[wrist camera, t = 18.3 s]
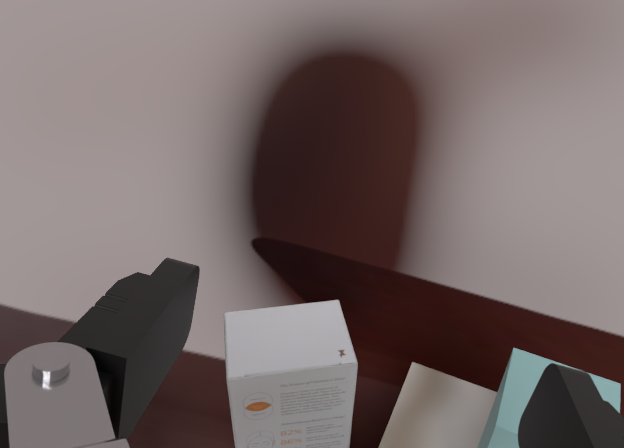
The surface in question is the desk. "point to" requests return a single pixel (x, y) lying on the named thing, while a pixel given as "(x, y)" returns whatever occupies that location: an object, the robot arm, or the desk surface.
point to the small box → (290, 376)
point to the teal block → (526, 398)
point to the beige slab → (438, 412)
